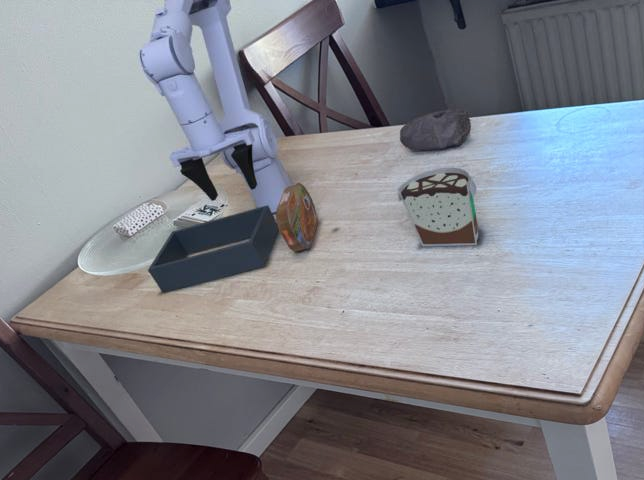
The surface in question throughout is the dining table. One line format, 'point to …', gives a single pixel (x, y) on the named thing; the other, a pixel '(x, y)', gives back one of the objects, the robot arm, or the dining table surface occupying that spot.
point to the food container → (442, 207)
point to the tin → (296, 217)
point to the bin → (182, 272)
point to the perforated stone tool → (436, 130)
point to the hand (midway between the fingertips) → (234, 192)
